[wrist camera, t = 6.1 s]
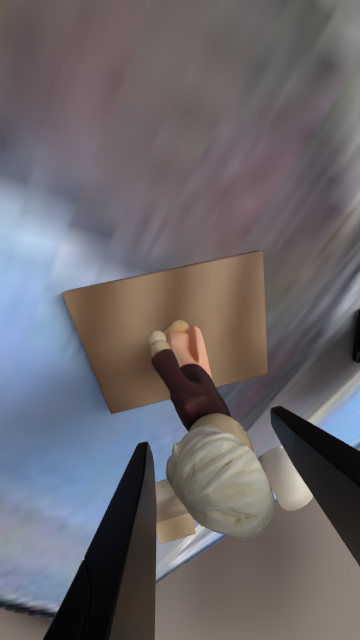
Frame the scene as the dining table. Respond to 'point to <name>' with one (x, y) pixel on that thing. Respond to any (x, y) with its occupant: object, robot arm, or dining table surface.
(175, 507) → the beech block
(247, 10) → the dining table surface
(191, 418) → the grandmother figurine
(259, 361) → the walnut board
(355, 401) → the dining table surface
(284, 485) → the off-white cylinder
